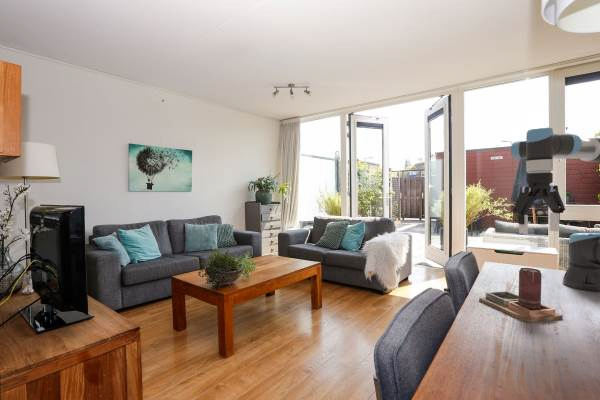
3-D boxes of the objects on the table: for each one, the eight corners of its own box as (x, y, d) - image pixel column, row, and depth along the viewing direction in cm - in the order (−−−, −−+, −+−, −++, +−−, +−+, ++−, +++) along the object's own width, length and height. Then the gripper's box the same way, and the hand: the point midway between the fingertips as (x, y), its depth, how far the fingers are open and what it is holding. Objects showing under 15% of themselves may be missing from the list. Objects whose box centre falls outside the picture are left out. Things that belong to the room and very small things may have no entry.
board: (510, 298, 124) (510, 290, 124) (562, 319, 104) (562, 309, 104) (479, 300, 121) (479, 292, 121) (526, 322, 101) (526, 312, 101)
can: (523, 313, 106) (524, 271, 105) (515, 306, 112) (515, 266, 111) (544, 315, 104) (545, 272, 104) (534, 307, 111) (535, 267, 110)
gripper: (556, 172, 120) (556, 228, 121) (500, 173, 114) (500, 233, 115) (578, 171, 112) (577, 231, 113) (519, 172, 107) (519, 236, 108)
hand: (539, 232), depth 114 cm, fingers open, 13 cm apart
